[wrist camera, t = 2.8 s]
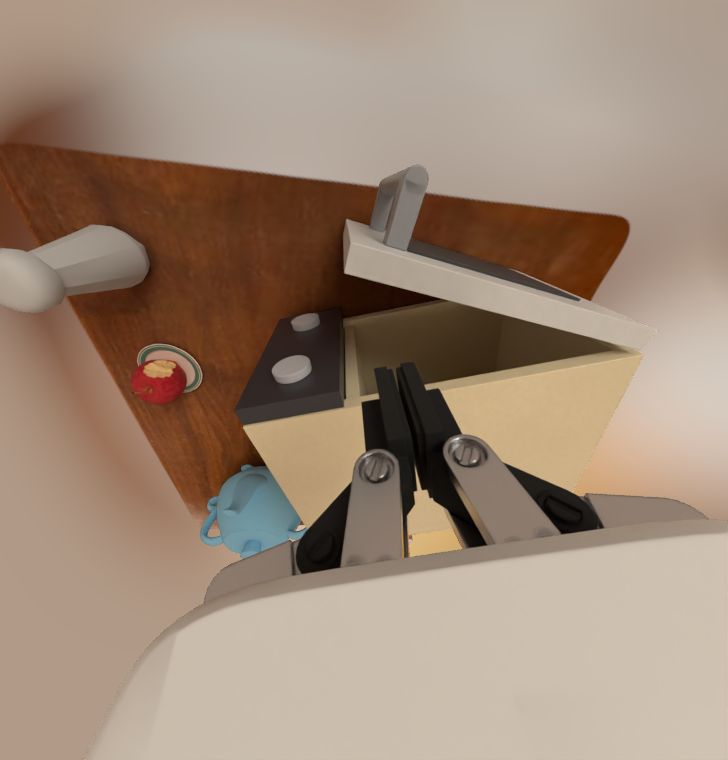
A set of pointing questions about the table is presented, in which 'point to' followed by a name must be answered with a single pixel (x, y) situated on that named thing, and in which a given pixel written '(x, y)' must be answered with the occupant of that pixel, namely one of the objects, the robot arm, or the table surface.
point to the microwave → (437, 370)
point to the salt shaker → (71, 268)
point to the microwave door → (467, 271)
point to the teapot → (251, 513)
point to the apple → (164, 374)
